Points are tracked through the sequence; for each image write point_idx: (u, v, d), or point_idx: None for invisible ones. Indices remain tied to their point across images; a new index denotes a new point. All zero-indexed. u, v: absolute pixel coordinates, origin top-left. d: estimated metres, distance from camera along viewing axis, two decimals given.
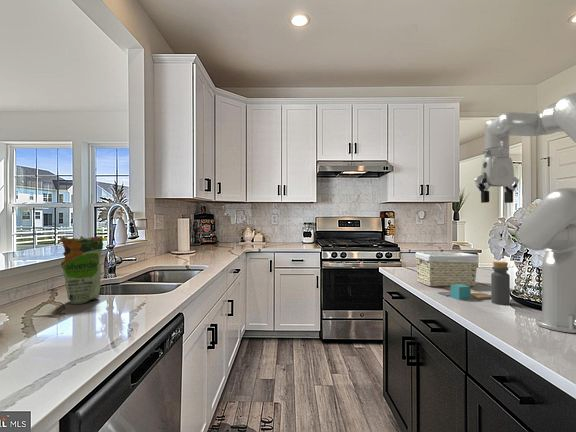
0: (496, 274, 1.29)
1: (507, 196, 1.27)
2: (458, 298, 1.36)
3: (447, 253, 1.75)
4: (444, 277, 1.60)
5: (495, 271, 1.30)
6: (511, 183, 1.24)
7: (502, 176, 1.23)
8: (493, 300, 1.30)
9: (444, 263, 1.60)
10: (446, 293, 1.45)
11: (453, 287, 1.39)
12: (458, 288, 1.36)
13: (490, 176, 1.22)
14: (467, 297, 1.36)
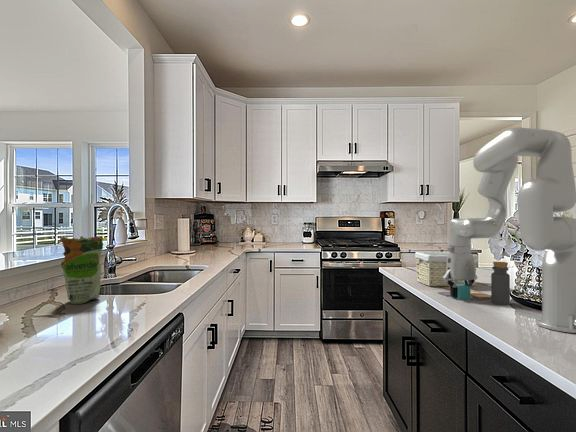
0: (496, 274, 1.29)
1: None
2: (458, 298, 1.36)
3: (447, 253, 1.75)
4: None
5: (495, 271, 1.30)
6: (472, 277, 1.37)
7: (464, 272, 1.36)
8: (493, 300, 1.30)
9: (443, 263, 1.60)
10: (446, 293, 1.45)
11: None
12: (458, 288, 1.36)
13: (453, 272, 1.35)
14: (467, 297, 1.36)
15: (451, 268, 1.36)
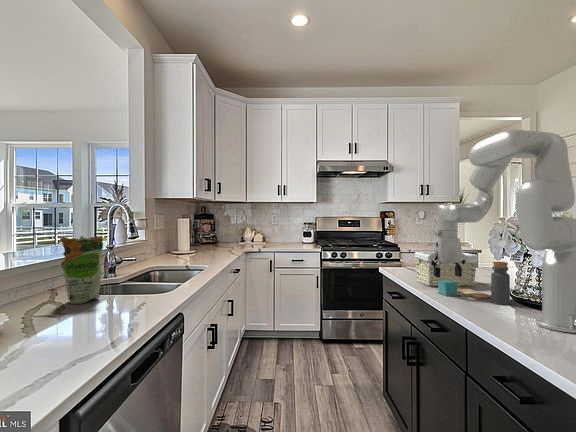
0: (496, 274, 1.29)
1: (457, 270, 1.46)
2: (445, 293, 1.43)
3: None
4: (443, 277, 1.61)
5: (495, 271, 1.30)
6: (459, 260, 1.43)
7: (451, 255, 1.43)
8: (493, 300, 1.30)
9: (443, 263, 1.61)
10: None
11: (440, 282, 1.46)
12: (445, 283, 1.43)
13: (440, 255, 1.42)
14: (454, 292, 1.43)
15: (439, 251, 1.43)
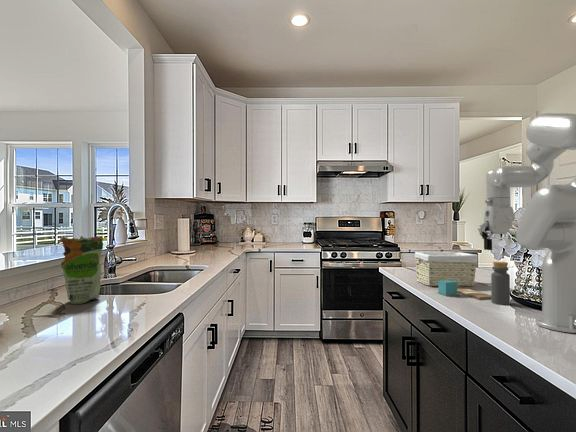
0: (496, 274, 1.29)
1: None
2: (445, 293, 1.43)
3: (446, 253, 1.75)
4: (443, 277, 1.61)
5: (495, 271, 1.30)
6: None
7: (504, 225, 1.28)
8: (493, 300, 1.30)
9: (443, 263, 1.61)
10: None
11: (440, 282, 1.46)
12: (445, 283, 1.43)
13: (492, 225, 1.28)
14: (454, 292, 1.43)
15: (490, 221, 1.28)
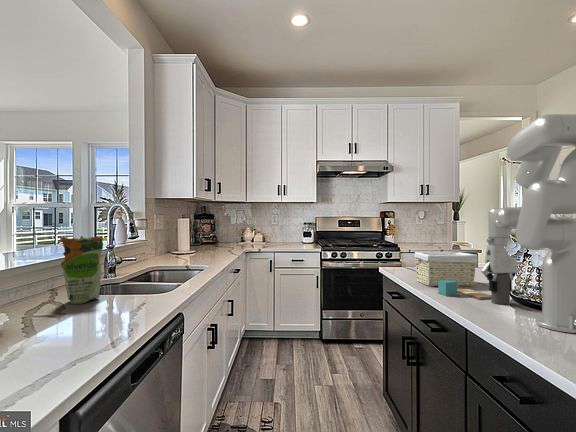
0: None
1: None
2: (445, 293, 1.43)
3: (446, 253, 1.75)
4: (443, 277, 1.61)
5: None
6: (514, 271, 1.29)
7: (505, 265, 1.28)
8: (493, 300, 1.30)
9: (443, 263, 1.61)
10: None
11: (440, 282, 1.46)
12: (445, 283, 1.43)
13: (494, 265, 1.27)
14: (454, 292, 1.43)
15: (491, 261, 1.28)
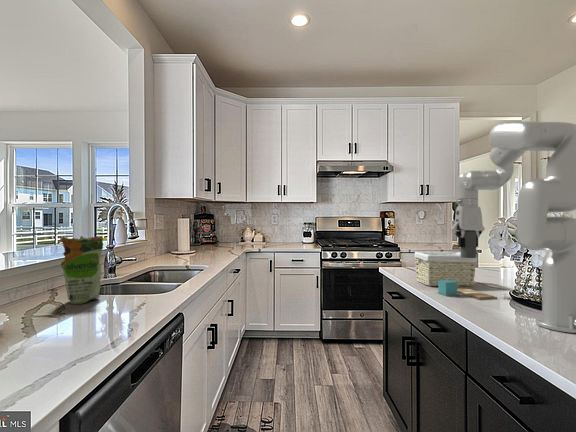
0: None
1: None
2: (445, 293, 1.43)
3: (446, 253, 1.76)
4: (443, 277, 1.61)
5: None
6: (480, 228, 1.45)
7: (472, 223, 1.44)
8: (461, 254, 1.47)
9: (443, 263, 1.61)
10: None
11: (440, 282, 1.46)
12: (445, 283, 1.43)
13: (461, 223, 1.44)
14: (454, 292, 1.43)
15: (459, 219, 1.45)
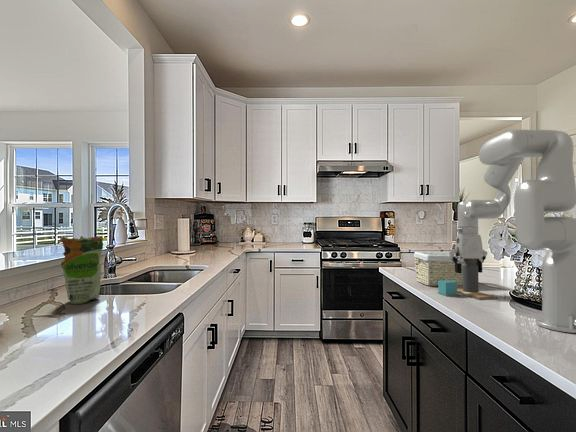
0: (466, 265, 1.46)
1: None
2: (445, 293, 1.43)
3: (446, 253, 1.76)
4: (442, 277, 1.62)
5: (465, 263, 1.47)
6: (480, 256, 1.45)
7: (472, 251, 1.44)
8: (463, 288, 1.47)
9: (442, 263, 1.61)
10: None
11: (440, 282, 1.46)
12: (445, 283, 1.43)
13: (462, 251, 1.44)
14: (454, 292, 1.43)
15: (460, 247, 1.45)
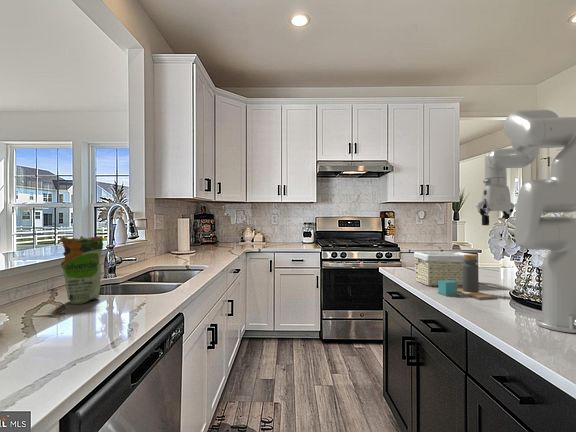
0: (466, 265, 1.46)
1: None
2: (445, 293, 1.43)
3: (445, 253, 1.76)
4: (442, 276, 1.62)
5: (465, 263, 1.47)
6: (508, 208, 1.42)
7: (500, 202, 1.42)
8: (463, 288, 1.47)
9: (442, 263, 1.62)
10: None
11: (440, 282, 1.46)
12: (445, 283, 1.43)
13: (490, 203, 1.41)
14: (454, 292, 1.43)
15: (487, 199, 1.42)
